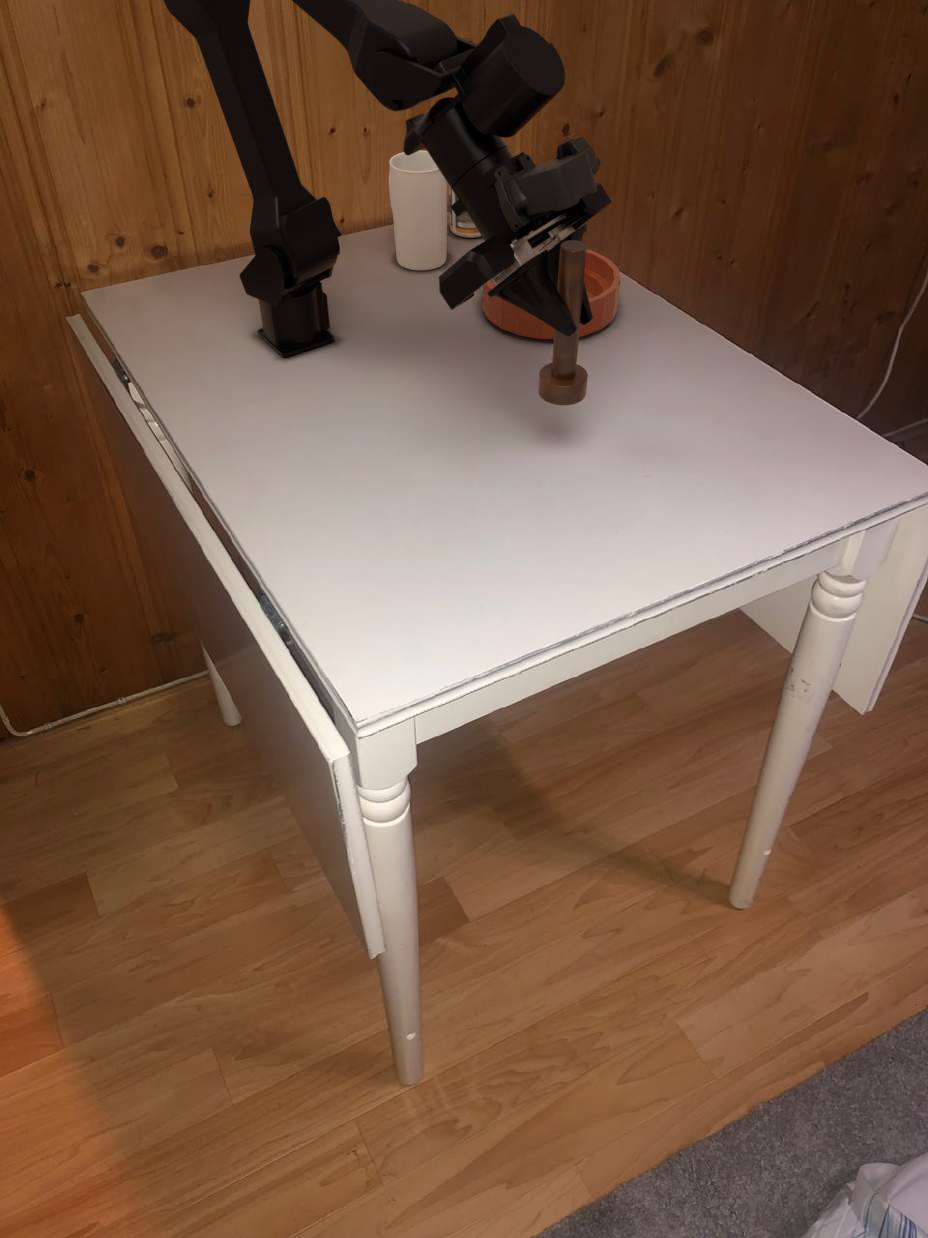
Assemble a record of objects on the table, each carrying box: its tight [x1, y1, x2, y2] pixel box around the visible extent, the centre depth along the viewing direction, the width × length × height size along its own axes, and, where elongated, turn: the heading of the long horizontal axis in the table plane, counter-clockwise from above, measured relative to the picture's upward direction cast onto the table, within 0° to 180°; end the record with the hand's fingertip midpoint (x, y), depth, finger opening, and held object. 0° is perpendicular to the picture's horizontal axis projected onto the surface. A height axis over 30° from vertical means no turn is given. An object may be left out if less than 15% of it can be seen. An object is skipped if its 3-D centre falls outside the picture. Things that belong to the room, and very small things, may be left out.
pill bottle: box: [448, 185, 482, 239], centre depth 129 cm, size 6×6×10 cm
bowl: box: [481, 248, 622, 340], centre depth 116 cm, size 15×15×4 cm
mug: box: [388, 149, 448, 272], centre depth 123 cm, size 10×7×12 cm, turn 34°
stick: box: [537, 240, 589, 406], centre depth 89 cm, size 4×4×14 cm
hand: (580, 328), depth 88 cm, fingers closed on stick, 2 cm apart
